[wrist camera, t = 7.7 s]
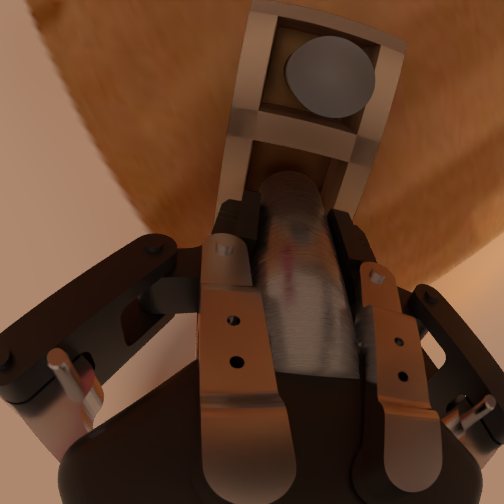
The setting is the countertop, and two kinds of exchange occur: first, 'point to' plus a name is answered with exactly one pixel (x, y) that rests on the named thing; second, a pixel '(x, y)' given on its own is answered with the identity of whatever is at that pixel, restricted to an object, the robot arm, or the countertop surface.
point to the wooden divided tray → (314, 98)
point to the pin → (302, 282)
